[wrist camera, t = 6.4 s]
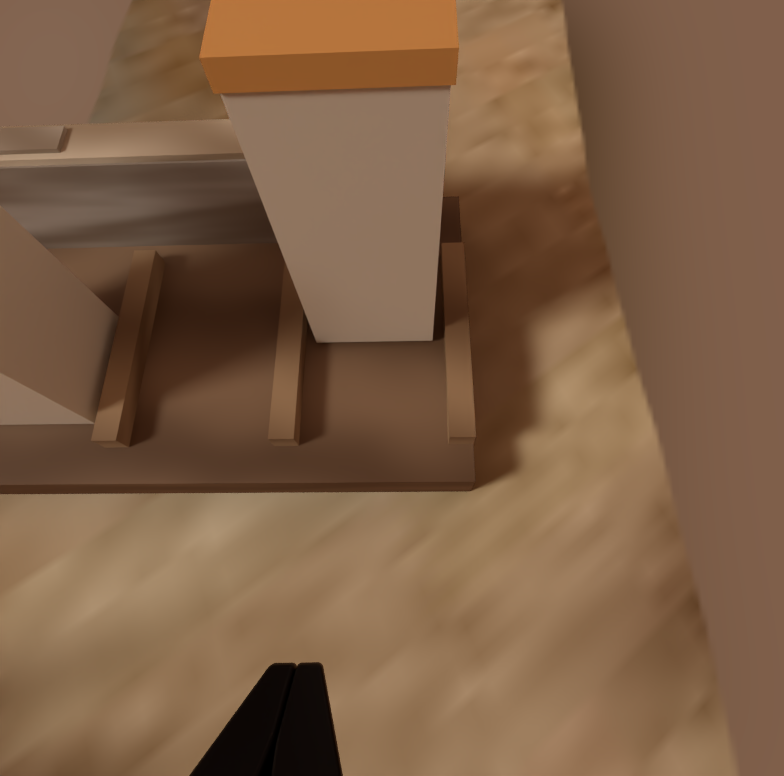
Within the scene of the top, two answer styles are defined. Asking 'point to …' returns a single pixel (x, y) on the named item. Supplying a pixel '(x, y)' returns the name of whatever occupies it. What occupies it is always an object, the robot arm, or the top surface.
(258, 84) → the orange-topped pillar
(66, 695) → the top surface
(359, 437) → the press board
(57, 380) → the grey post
